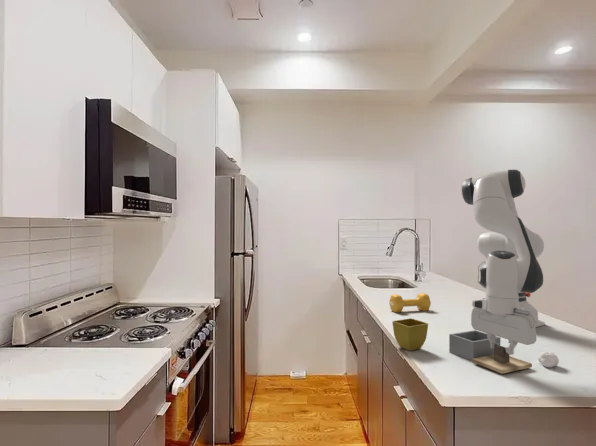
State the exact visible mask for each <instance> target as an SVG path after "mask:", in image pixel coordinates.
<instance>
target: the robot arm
mask: <svg viewBox="0 0 596 446" xmlns="http://www.w3.org/2000/svg"><path fill="white" fill-rule="evenodd" d="M525 189H526V180H525V178H524V175H523V173H521V171H519V170H517V169H507V170H501V171H493V172H489V173H486V174H481V175H478V176H475V177H470V178H466V179H465V180H464V181H463V182H462V184H461V188H460V194H461V197H462V199H463V201H464V202H465V203H466V204H467V205H471V206H473V207H472V208H473V209H472V210H473V214H474V215H473V216H474V219H475V221H476V223H477V224H478V225H479V226H480V227H482V228H483V229H485V230H487V232H484V233H483V232H482V233H481V234H480V235H479V237H478V238H477V242H476V245H477V249H478V251H479V253H480V254H481V255H483V257H484V258H486V259H487V260H484V261H482V262H481V263H480V264H479V265H478V266H477V269H478V275H477V283H478V284H479V285H480V286H481V287H482V288H484V289H487V290H486V293H485V297H483V298H480V299H474V300H472V302H471V306H472V307H473V308H472V309H471V315H470V318H471V319H470V322H471V323H470V325H471V327H472V329H473V330H477V331H480V332H483V333H487V337H488V340H489V342H490V348H491V349H494V347H498V343H496V341H495V338H494V337H495V336H497V337H500V338H501V339H505V340H508V344H509V345H508V347H506V348H505V350H506V351H505V353H506V354H509V355H510V356H513V355H514V354H515V353H514V352H515V348H516V346H517V345H518V343H519V344H522V345H525V346H529V345H534V344H535V343H536V342H537V330H536V328H538V327H542V326H544V325H545V324H546V323H545V321H543V320H540V319H539V312H538V309H537V308H535V306H534V305H532V304H530V302H529V301H527V298H531V295H532V294H533V293H535V292H537V290H539V289H540V288H541V287H542V286H543V285H544V273H543V270H542V268H541V265H540V263H539V261H538V260H537V258H539V257H540V256H541V255H542V254H543V252H544V248H545V243H544V241H543V239H542V237H541V236H540V234H538V233H535V232H533V231H532V230H531V229H529V228H528V227H527V226H526V225H525V224H524V223H523V221H522V219H521V218H520V217H519V214H518V211H517V207H516V203H515V198H518V197H520V196H522V195H523V194H524V192H525ZM517 259H519V260H517Z"/></svg>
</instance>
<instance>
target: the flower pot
mask: <svg viewBox="0 0 596 446" xmlns="http://www.w3.org/2000/svg"><path fill="white" fill-rule="evenodd" d="M428 328H429V323H428V322H425V321H422V320H418V319H415V318H405V319H404V318H403V319H399V320H398V319H397V320H392V329H393V336H394V339H395V341H396V344H398V346H399V347H400V348H402V349H404V350H407V351H409V352H410V351H414V350H419V349H422V347H423V346H424V344H425V342H426V340H427V336H428Z"/></svg>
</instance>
